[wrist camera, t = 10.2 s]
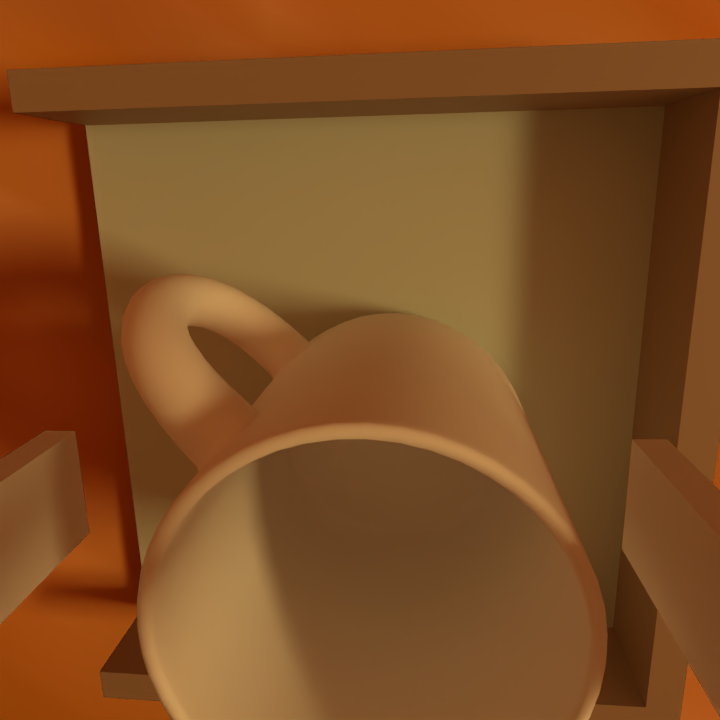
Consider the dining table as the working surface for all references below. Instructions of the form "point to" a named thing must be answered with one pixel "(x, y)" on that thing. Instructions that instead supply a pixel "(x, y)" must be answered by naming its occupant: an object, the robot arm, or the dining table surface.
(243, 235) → the shallow square tray
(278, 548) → the mug
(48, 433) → the robot arm
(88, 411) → the dining table surface
